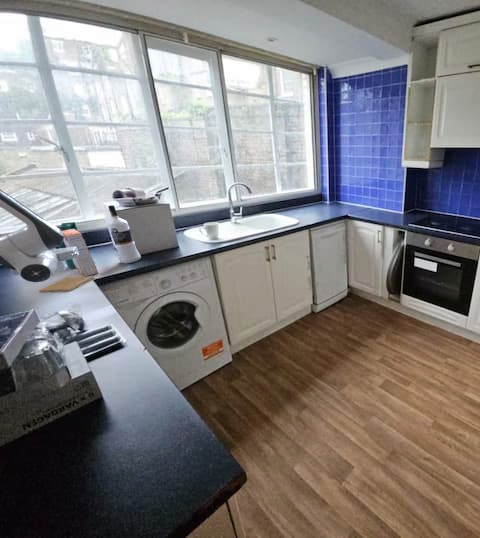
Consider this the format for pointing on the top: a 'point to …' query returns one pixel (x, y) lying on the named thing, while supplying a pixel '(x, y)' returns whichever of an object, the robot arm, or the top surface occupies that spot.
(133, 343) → the top surface
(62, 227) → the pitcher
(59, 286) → the cork mat
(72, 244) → the cracker box
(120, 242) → the vodka
